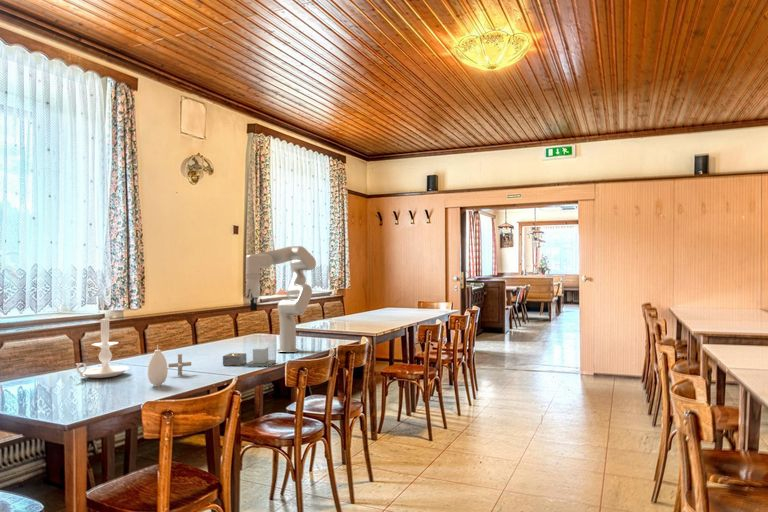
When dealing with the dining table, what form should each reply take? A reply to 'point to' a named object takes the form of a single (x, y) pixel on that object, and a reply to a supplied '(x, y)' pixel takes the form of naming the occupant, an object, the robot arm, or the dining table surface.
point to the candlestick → (103, 357)
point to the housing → (260, 355)
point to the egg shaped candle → (157, 368)
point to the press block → (234, 359)
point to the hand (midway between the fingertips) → (253, 310)
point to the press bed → (260, 363)
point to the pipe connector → (179, 364)
